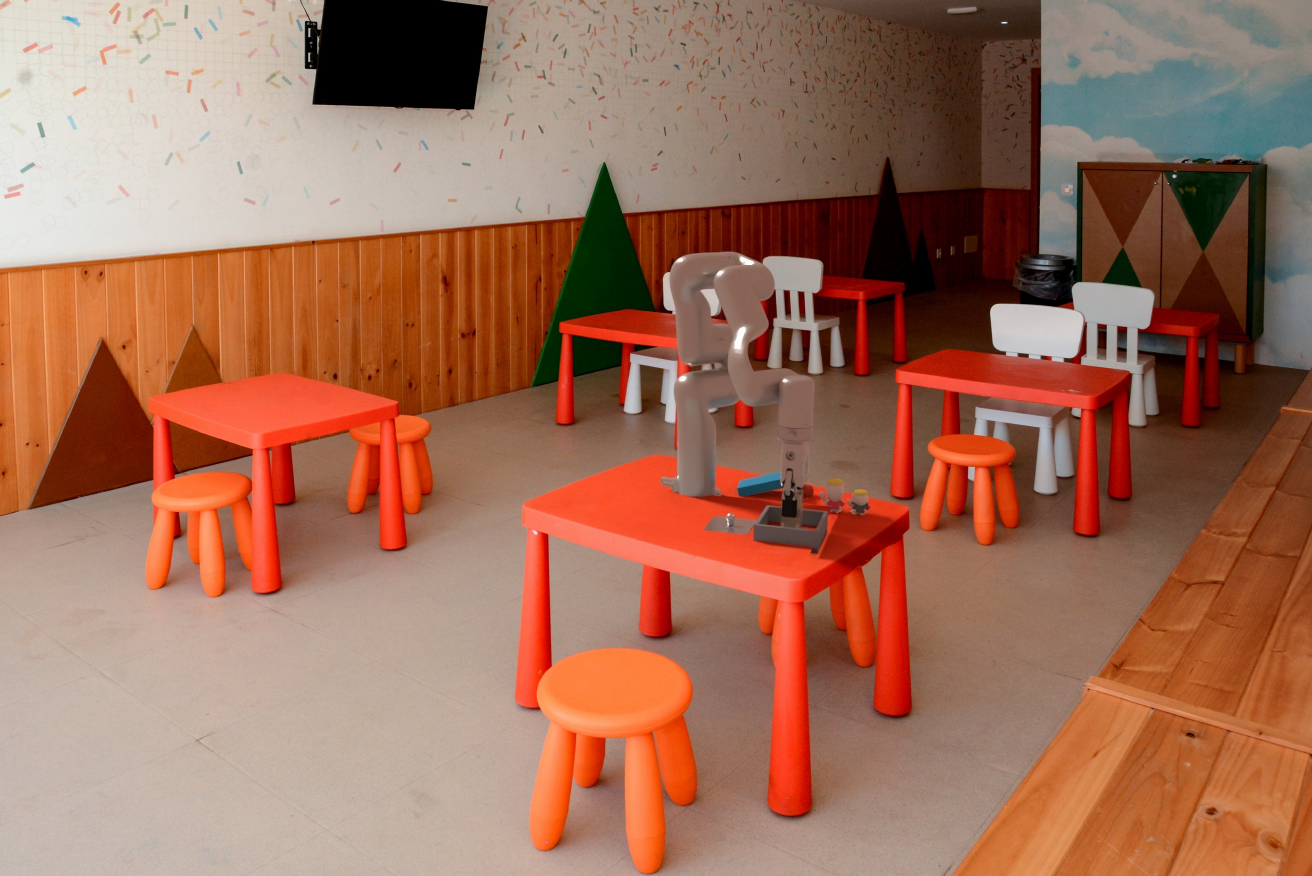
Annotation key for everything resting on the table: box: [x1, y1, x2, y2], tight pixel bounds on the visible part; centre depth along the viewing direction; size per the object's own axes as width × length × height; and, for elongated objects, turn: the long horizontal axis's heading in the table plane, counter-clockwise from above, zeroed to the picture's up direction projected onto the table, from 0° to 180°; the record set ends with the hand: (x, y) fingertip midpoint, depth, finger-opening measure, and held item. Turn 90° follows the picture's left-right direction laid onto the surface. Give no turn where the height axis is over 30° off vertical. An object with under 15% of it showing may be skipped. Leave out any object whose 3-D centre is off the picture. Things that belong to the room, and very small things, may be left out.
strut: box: [780, 489, 804, 529], centre depth 233 cm, size 4×4×10 cm
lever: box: [736, 471, 815, 498], centre depth 266 cm, size 7×7×18 cm
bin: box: [752, 504, 829, 555], centre depth 234 cm, size 14×14×5 cm
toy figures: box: [819, 478, 871, 515], centre depth 251 cm, size 12×4×8 cm, turn 76°
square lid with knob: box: [703, 512, 757, 536], centre depth 239 cm, size 10×10×4 cm
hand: (791, 511), depth 233 cm, fingers open, 6 cm apart
